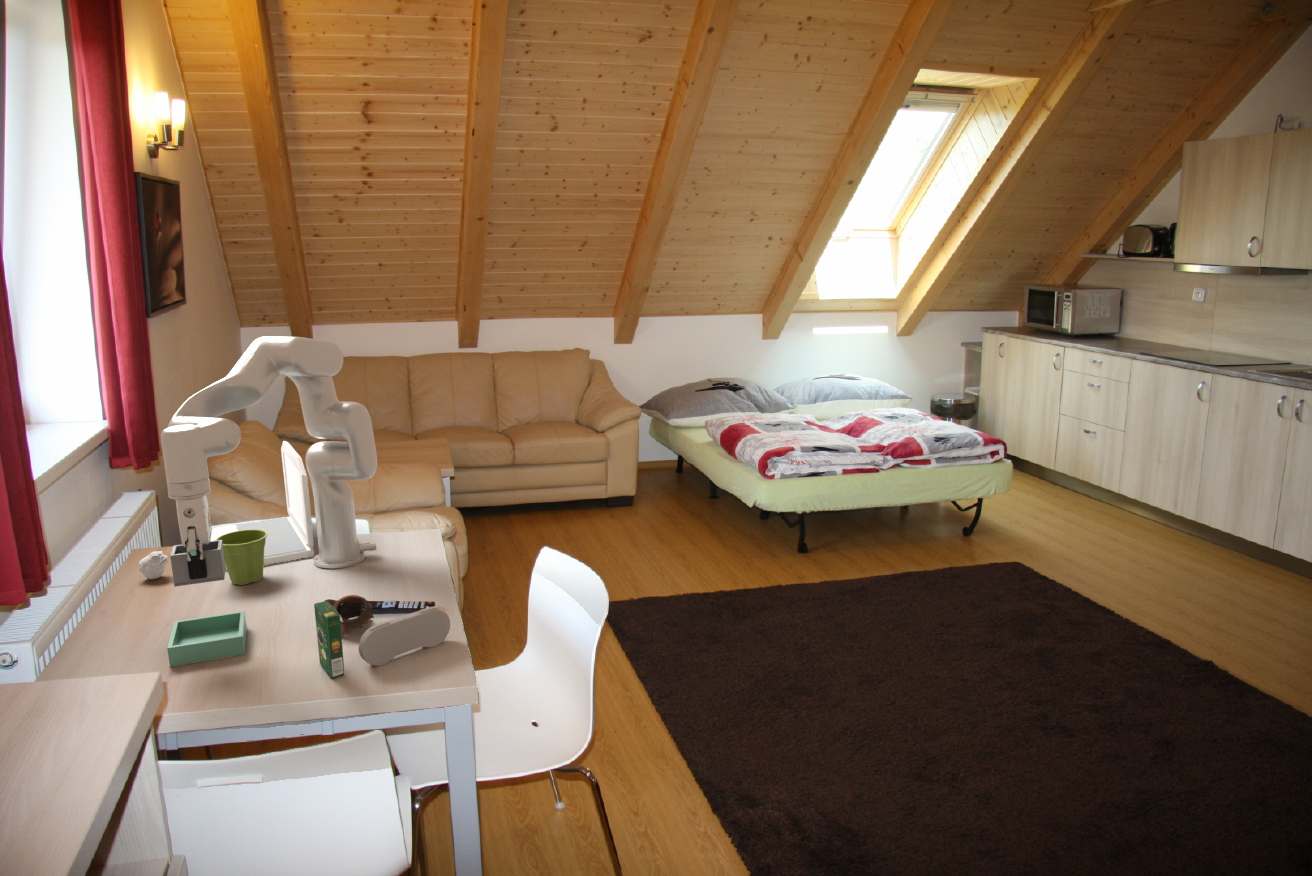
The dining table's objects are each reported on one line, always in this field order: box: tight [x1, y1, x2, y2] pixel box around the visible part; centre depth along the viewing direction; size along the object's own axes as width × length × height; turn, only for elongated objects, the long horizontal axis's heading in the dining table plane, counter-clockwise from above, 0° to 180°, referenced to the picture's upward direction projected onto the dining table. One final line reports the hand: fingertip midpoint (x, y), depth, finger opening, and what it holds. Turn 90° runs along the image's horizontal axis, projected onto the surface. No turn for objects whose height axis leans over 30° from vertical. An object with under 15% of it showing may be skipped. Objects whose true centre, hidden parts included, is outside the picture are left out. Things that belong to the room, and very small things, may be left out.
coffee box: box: [313, 600, 346, 680], centre depth 178 cm, size 8×3×13 cm, turn 36°
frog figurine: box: [138, 550, 169, 580], centre depth 226 cm, size 6×7×7 cm
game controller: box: [358, 606, 451, 667], centre depth 185 cm, size 20×2×8 cm, turn 133°
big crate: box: [166, 610, 248, 668], centre depth 190 cm, size 14×14×4 cm
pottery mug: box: [324, 594, 374, 637], centre depth 198 cm, size 12×10×8 cm
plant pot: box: [215, 529, 268, 586], centre depth 224 cm, size 12×12×11 cm
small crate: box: [169, 540, 227, 587], centre depth 186 cm, size 9×6×6 cm
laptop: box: [210, 440, 315, 571], centre depth 246 cm, size 33×24×26 cm
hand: (199, 571), depth 186 cm, fingers closed on small crate, 6 cm apart
